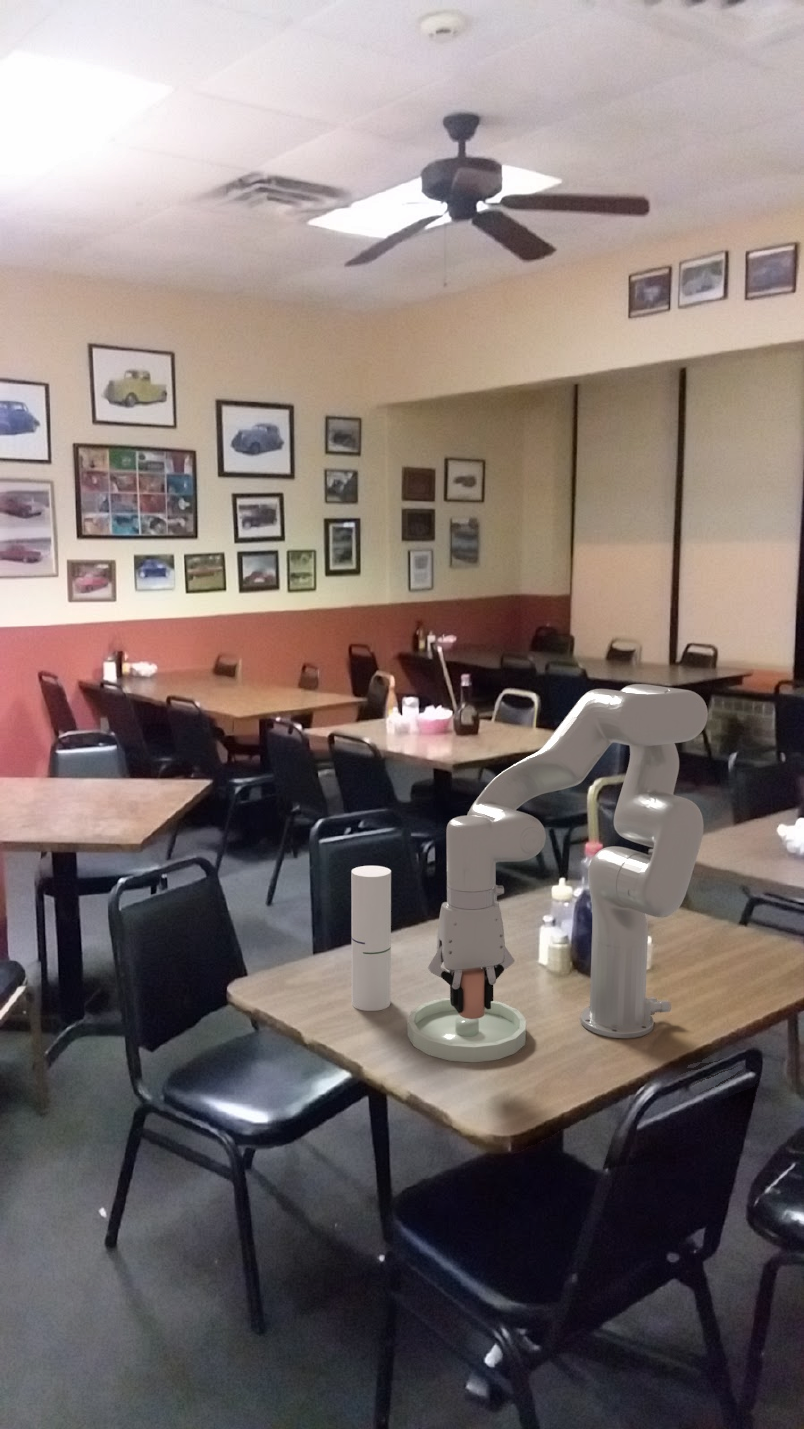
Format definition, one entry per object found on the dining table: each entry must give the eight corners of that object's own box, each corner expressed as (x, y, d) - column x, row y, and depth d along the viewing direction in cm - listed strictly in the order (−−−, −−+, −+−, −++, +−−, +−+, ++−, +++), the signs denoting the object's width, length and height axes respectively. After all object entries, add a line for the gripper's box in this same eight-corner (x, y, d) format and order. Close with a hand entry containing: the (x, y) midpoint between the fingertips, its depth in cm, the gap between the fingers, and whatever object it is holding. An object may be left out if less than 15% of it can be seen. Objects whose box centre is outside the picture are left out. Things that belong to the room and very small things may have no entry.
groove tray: (502, 1005, 195) (502, 992, 195) (543, 1054, 176) (543, 1039, 176) (396, 1016, 190) (396, 1002, 190) (426, 1067, 171) (426, 1052, 171)
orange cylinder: (479, 1006, 171) (479, 965, 170) (488, 1017, 167) (487, 974, 166) (456, 1009, 170) (455, 967, 169) (463, 1020, 166) (463, 977, 165)
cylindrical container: (365, 992, 201) (365, 863, 198) (397, 1000, 197) (398, 869, 194) (344, 1005, 195) (343, 872, 191) (377, 1014, 191) (377, 879, 188)
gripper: (513, 883, 171) (513, 992, 174) (412, 893, 167) (414, 1004, 170) (530, 898, 164) (530, 1011, 167) (425, 909, 160) (427, 1024, 163)
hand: (471, 1006), depth 168 cm, fingers closed on orange cylinder, 3 cm apart
